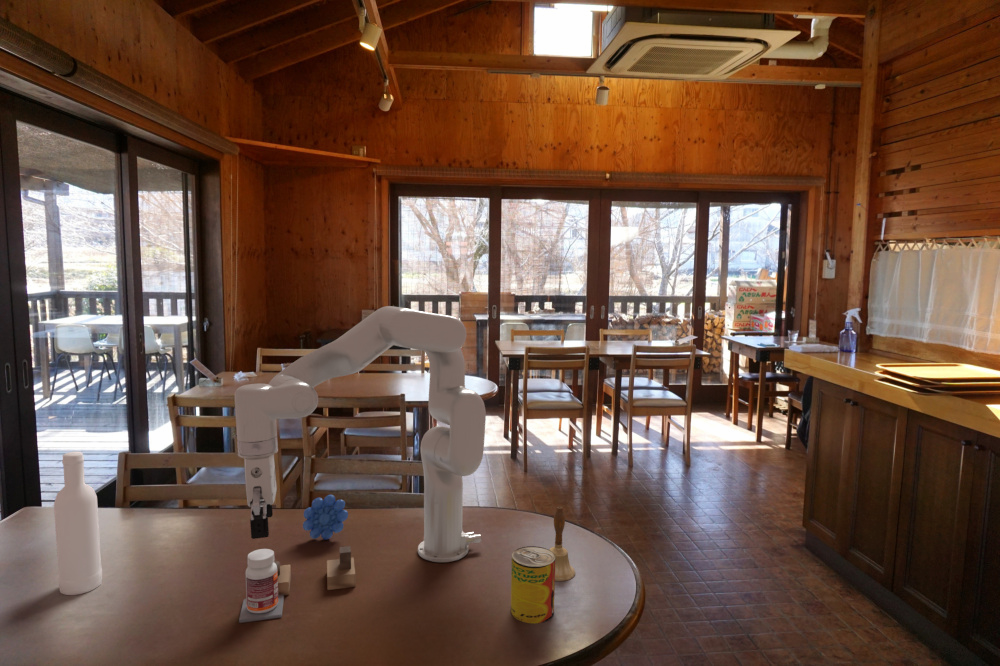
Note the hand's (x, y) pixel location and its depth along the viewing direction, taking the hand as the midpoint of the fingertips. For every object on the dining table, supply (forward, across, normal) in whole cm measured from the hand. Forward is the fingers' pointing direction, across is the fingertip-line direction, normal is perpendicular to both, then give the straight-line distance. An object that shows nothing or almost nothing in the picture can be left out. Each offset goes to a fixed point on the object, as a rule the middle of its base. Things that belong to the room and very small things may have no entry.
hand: (262, 527), depth 127 cm
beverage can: (+19, -15, -53) cm, 58 cm away
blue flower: (+18, +31, -12) cm, 38 cm away
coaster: (+18, 0, +1) cm, 18 cm away
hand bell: (+19, -1, -64) cm, 67 cm away
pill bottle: (+17, 0, +1) cm, 17 cm away
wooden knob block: (+18, +8, -8) cm, 21 cm away
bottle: (+17, +19, +40) cm, 47 cm away
